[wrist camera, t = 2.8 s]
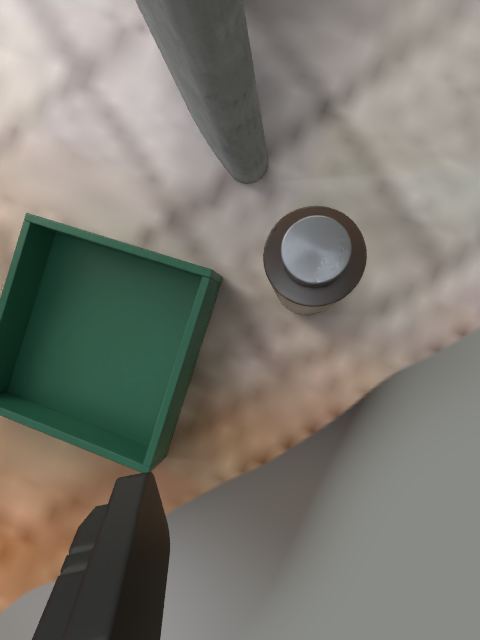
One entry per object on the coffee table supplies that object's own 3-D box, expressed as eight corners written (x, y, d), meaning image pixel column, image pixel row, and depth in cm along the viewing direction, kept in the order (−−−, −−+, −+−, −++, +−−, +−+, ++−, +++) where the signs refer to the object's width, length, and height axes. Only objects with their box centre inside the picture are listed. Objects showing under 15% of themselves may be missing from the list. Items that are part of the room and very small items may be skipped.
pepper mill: (286, 245, 29) (279, 181, 16) (347, 262, 28) (389, 210, 15) (266, 304, 29) (246, 286, 16) (327, 322, 28) (353, 319, 16)
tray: (56, 225, 31) (25, 212, 28) (222, 277, 29) (212, 269, 26) (5, 394, 32) (-32, 402, 28) (165, 457, 30) (147, 475, 26)
